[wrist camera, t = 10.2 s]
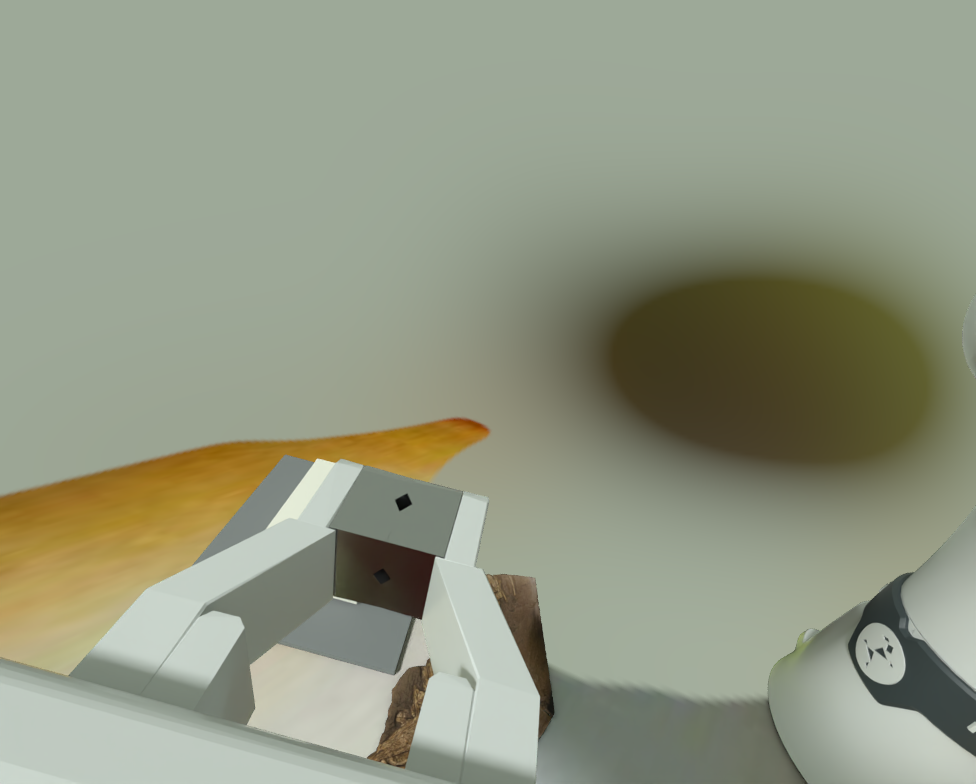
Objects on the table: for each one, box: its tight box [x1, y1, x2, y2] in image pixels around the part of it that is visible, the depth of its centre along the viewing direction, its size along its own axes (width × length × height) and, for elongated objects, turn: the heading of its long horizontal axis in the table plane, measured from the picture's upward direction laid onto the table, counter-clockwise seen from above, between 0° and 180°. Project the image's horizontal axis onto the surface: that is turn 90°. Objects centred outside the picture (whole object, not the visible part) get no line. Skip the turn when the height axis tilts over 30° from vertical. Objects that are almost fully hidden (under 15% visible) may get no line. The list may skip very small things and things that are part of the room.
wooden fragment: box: [367, 574, 554, 769], centre depth 33 cm, size 26×11×1 cm, turn 156°
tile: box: [265, 459, 357, 604], centre depth 42 cm, size 9×3×12 cm
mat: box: [192, 455, 412, 675], centre depth 42 cm, size 18×18×1 cm
